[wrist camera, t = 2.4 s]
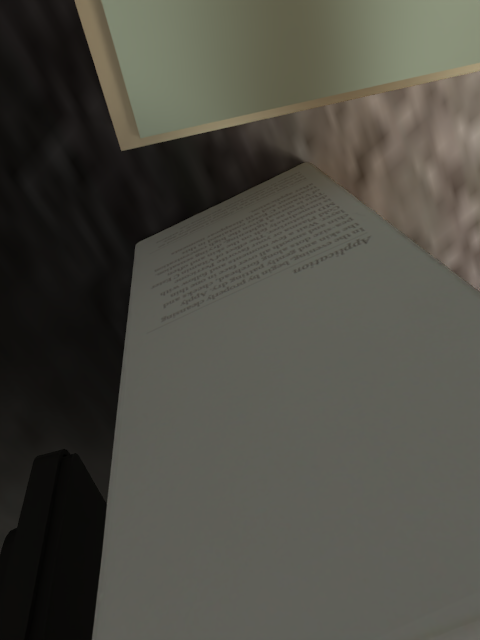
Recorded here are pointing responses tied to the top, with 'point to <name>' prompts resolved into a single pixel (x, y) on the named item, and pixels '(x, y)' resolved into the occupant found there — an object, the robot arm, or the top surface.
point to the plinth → (264, 57)
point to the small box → (294, 430)
